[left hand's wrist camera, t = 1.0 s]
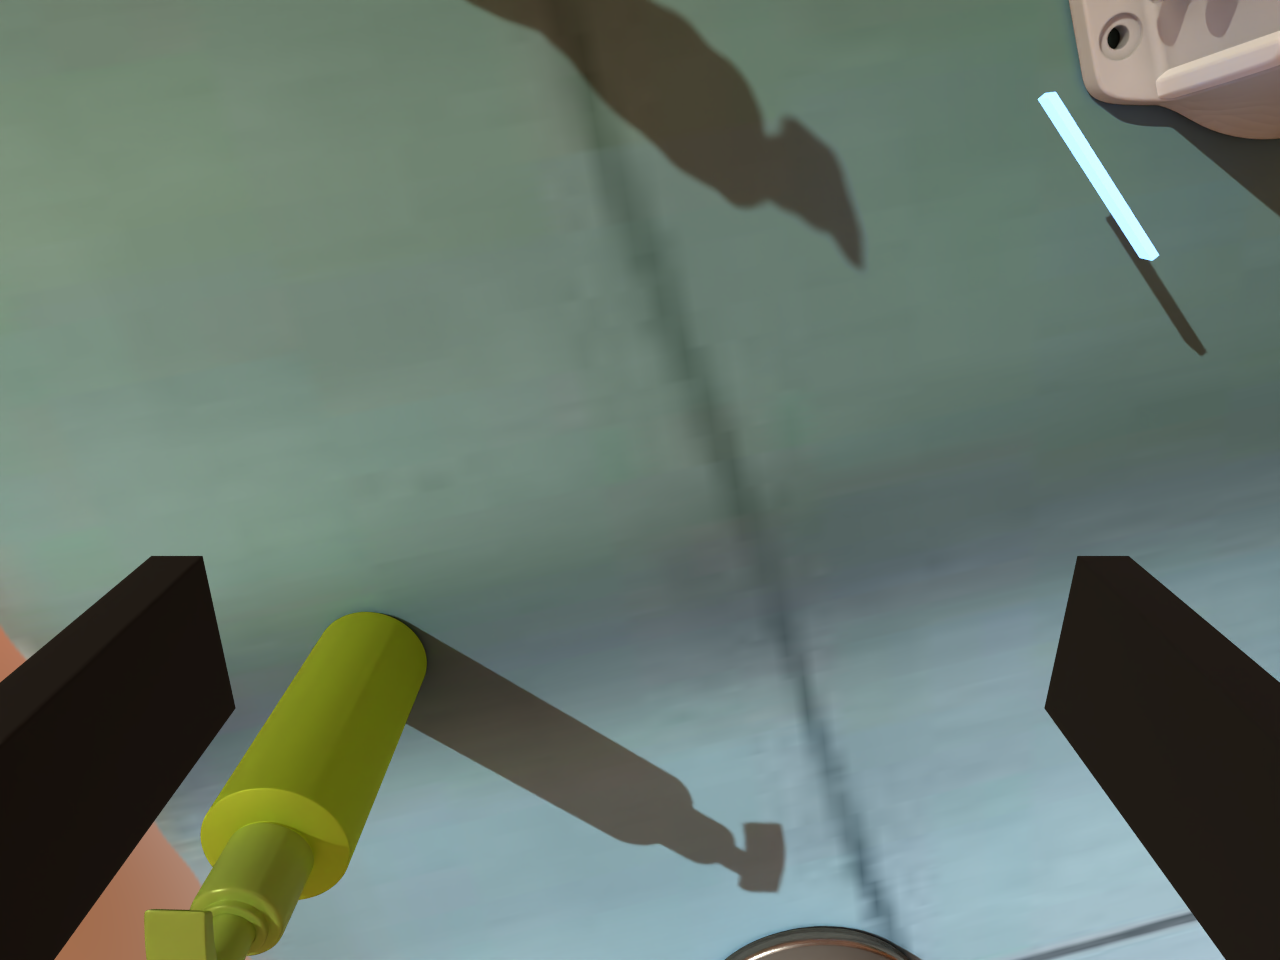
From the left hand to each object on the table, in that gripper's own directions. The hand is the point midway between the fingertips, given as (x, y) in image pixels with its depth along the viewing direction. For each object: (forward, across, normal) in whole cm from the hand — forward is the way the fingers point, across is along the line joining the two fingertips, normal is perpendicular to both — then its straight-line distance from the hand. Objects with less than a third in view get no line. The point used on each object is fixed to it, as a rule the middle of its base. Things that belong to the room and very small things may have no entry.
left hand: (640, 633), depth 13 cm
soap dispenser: (+28, +14, +18) cm, 36 cm away
